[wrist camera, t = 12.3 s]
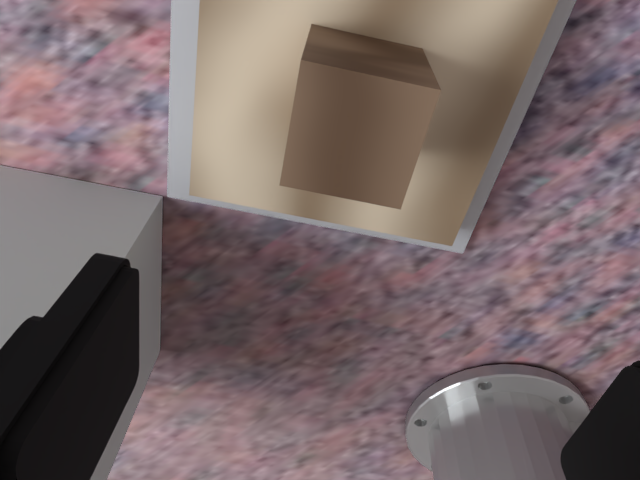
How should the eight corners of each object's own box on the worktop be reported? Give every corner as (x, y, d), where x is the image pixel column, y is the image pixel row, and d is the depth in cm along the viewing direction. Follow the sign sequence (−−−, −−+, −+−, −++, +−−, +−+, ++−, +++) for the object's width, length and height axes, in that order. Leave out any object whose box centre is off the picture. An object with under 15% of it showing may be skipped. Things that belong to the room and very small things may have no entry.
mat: (612, -96, 19) (619, -95, 18) (460, 247, 28) (462, 253, 27) (180, -202, 18) (175, -204, 17) (170, 191, 27) (167, 196, 26)
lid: (562, -56, 19) (651, -34, 13) (446, 226, 26) (472, 316, 21) (219, -139, 18) (159, -152, 12) (198, 177, 25) (155, 258, 20)
